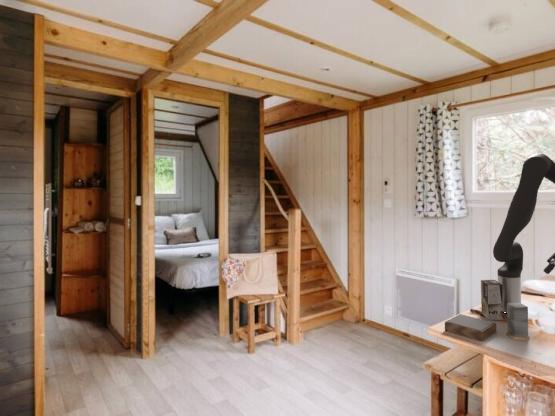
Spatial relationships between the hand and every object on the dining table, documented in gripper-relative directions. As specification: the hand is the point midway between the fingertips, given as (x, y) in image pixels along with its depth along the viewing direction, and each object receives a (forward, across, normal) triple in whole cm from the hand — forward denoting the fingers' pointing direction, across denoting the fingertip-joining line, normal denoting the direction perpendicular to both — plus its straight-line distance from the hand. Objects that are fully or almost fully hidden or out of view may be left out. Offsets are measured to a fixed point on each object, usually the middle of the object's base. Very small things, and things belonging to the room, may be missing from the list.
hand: (553, 275), depth 145 cm
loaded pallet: (+27, 0, +7) cm, 28 cm away
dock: (+38, -8, -4) cm, 39 cm away
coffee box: (+26, -23, +9) cm, 35 cm away
